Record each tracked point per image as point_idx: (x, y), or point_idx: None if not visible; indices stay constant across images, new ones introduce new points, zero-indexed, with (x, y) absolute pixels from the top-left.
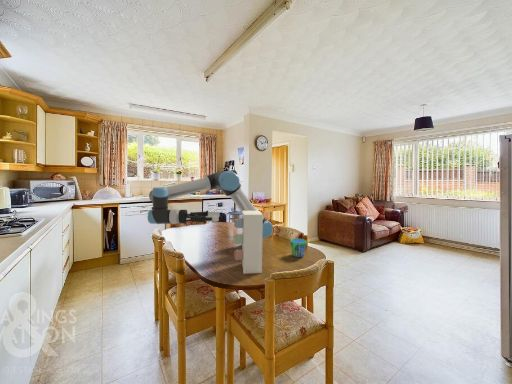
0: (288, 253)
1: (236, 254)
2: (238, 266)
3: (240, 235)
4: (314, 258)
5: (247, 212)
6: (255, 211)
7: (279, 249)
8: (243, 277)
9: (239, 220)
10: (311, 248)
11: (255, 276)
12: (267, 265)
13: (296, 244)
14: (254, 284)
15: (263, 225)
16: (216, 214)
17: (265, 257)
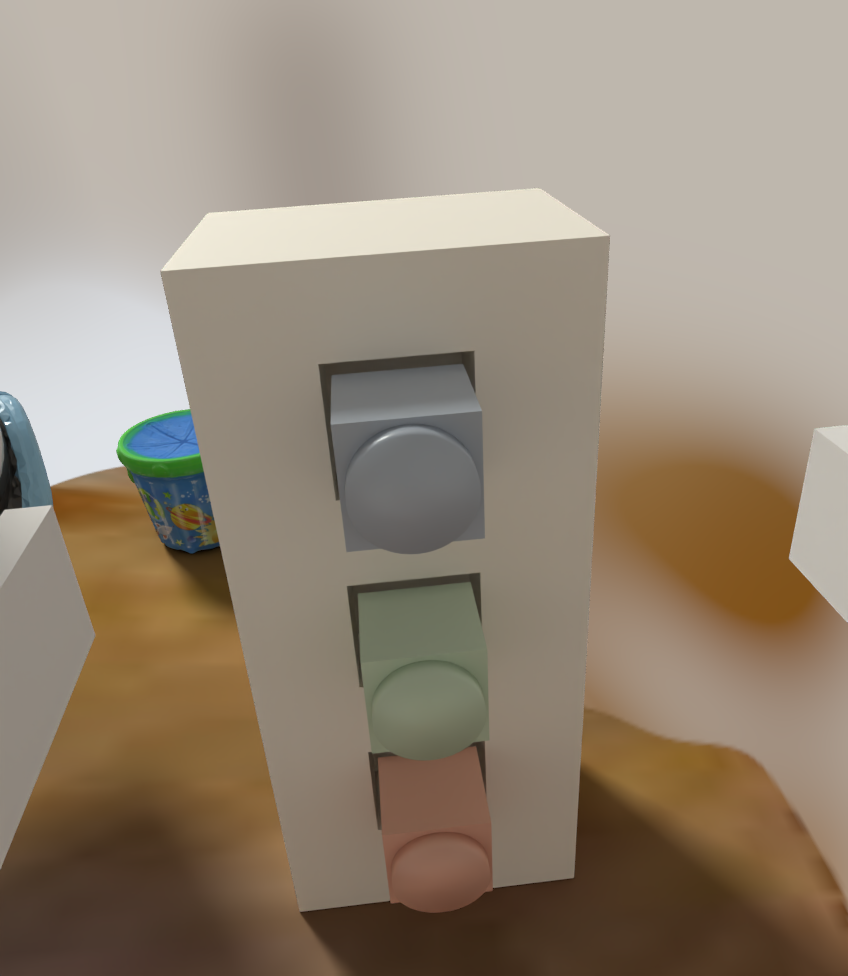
0: (139, 571)
1: (490, 835)
2: (383, 947)
3: (434, 608)
4: None
5: (372, 238)
6: (281, 218)
7: None
8: (661, 872)
9: (473, 391)
10: (93, 473)
11: (612, 775)
12: None
13: None
14: (768, 778)
15: (37, 444)
16: (40, 641)
17: (177, 706)
